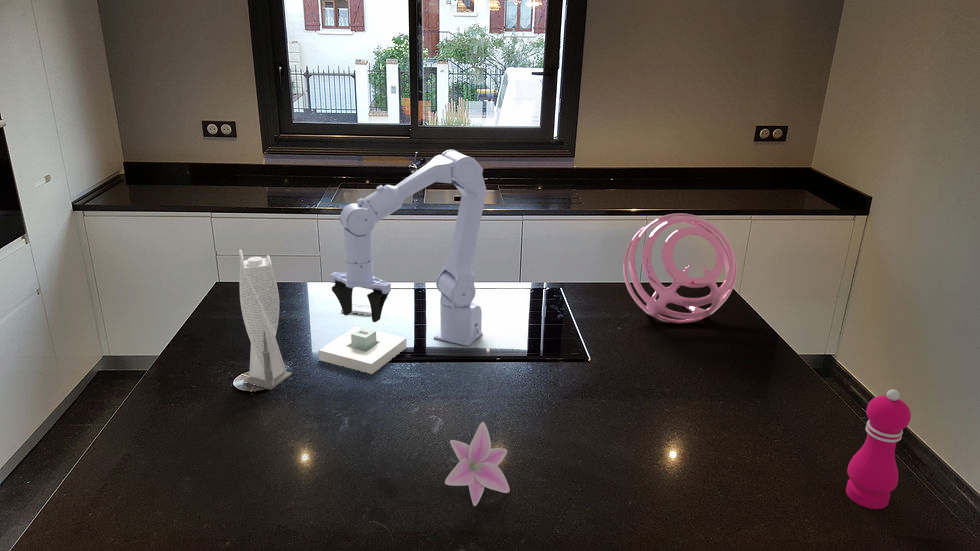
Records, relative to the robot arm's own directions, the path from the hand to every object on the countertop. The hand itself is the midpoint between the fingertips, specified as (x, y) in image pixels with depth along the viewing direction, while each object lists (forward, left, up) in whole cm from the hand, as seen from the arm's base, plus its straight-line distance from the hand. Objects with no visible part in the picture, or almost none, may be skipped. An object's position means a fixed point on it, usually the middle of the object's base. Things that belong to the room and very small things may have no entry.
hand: (362, 317), depth 153 cm
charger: (0, 0, -9) cm, 9 cm away
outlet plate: (0, 0, -9) cm, 9 cm away
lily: (-44, +31, -10) cm, 55 cm away
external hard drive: (+16, -23, -10) cm, 30 cm away
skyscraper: (+12, +18, -9) cm, 24 cm away
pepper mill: (-102, +4, -9) cm, 103 cm away
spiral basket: (-59, -54, -9) cm, 81 cm away
